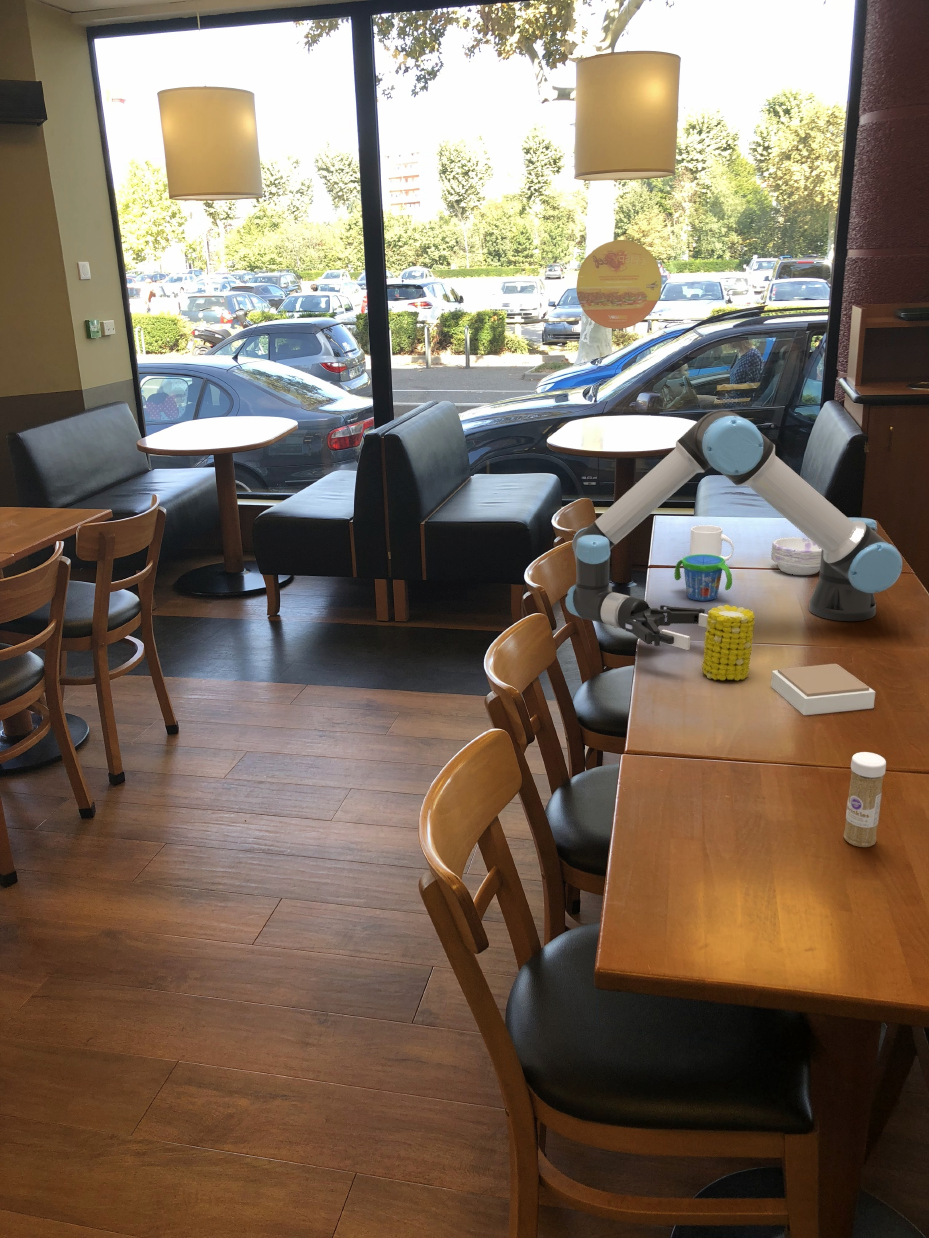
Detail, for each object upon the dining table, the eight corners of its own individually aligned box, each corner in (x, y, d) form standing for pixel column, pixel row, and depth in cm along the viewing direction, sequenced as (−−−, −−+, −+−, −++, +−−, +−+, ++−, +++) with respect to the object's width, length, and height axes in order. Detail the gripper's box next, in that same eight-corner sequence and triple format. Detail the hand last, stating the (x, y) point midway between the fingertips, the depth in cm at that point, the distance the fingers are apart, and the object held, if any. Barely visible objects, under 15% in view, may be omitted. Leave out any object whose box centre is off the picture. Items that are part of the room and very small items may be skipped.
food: (695, 684, 202) (721, 672, 208) (745, 686, 193) (771, 673, 200) (685, 612, 200) (712, 602, 206) (735, 611, 191) (762, 601, 198)
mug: (729, 572, 269) (731, 534, 266) (686, 568, 274) (687, 531, 271) (735, 563, 277) (737, 527, 273) (693, 560, 282) (695, 524, 278)
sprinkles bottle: (838, 841, 142) (847, 759, 138) (849, 828, 145) (858, 747, 141) (870, 852, 139) (880, 768, 135) (881, 838, 143) (891, 756, 138)
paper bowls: (834, 567, 270) (836, 539, 267) (820, 581, 258) (823, 553, 255) (778, 560, 278) (780, 533, 275) (763, 574, 266) (765, 546, 263)
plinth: (836, 679, 197) (837, 661, 196) (873, 708, 184) (875, 688, 183) (770, 686, 195) (772, 668, 194) (803, 715, 182) (805, 695, 181)
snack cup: (664, 595, 252) (665, 557, 249) (690, 586, 258) (691, 549, 255) (714, 609, 241) (716, 569, 237) (739, 599, 247) (742, 561, 243)
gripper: (659, 614, 226) (739, 635, 211) (590, 643, 210) (671, 668, 196) (660, 583, 224) (741, 602, 209) (590, 610, 208) (672, 633, 193)
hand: (707, 634), depth 202 cm, fingers open, 13 cm apart
